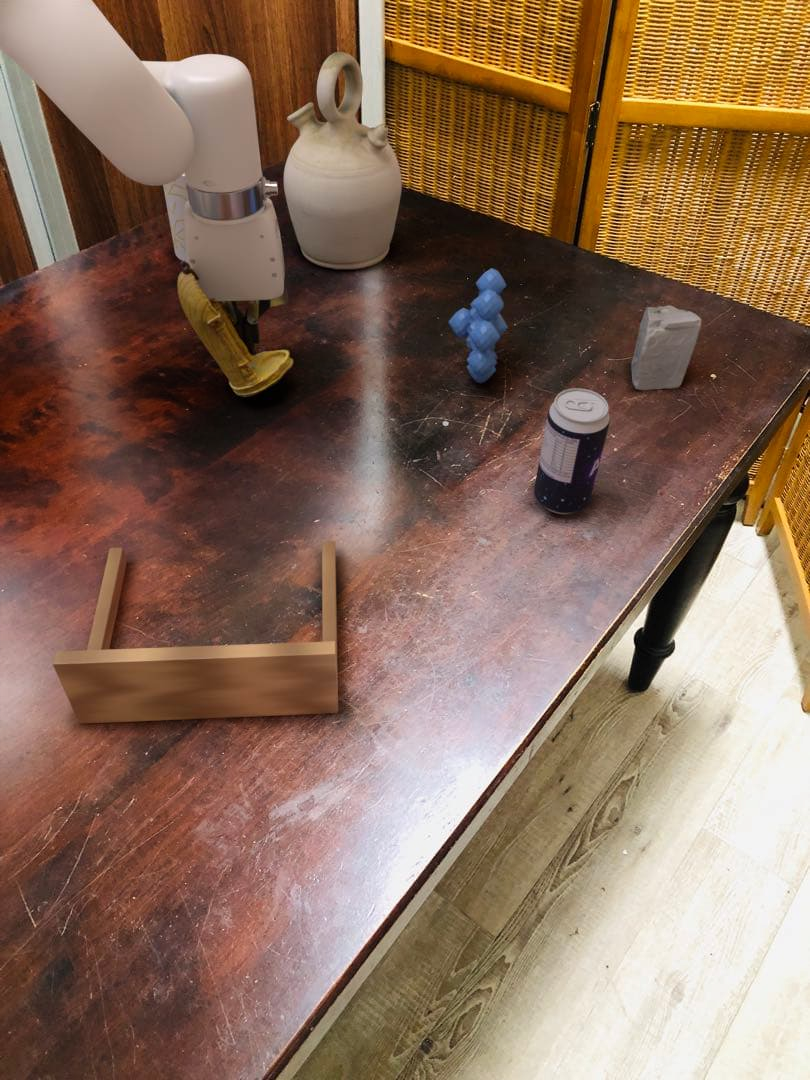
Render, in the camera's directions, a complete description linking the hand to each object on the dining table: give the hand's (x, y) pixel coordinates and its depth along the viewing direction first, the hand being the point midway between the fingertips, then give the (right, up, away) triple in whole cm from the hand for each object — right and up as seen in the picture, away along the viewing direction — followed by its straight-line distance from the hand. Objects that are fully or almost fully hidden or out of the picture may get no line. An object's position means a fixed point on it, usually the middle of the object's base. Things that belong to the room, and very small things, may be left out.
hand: (247, 347), depth 102 cm
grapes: (+26, -2, +2) cm, 27 cm away
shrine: (0, -5, -2) cm, 5 cm away
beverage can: (+34, -18, -13) cm, 41 cm away
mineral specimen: (+48, -3, +2) cm, 48 cm away
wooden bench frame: (+2, -30, -26) cm, 40 cm away
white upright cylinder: (-9, +18, +19) cm, 28 cm away
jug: (+10, +18, +20) cm, 29 cm away
